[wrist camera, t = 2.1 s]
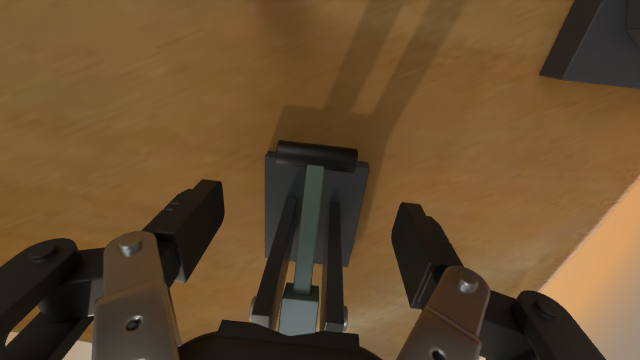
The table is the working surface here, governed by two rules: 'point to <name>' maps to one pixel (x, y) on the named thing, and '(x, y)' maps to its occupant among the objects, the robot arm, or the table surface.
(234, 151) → the table surface
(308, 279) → the lever
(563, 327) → the robot arm
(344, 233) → the bracket
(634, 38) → the button block
